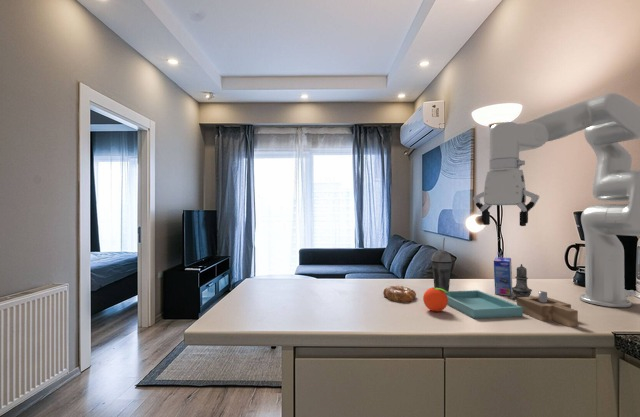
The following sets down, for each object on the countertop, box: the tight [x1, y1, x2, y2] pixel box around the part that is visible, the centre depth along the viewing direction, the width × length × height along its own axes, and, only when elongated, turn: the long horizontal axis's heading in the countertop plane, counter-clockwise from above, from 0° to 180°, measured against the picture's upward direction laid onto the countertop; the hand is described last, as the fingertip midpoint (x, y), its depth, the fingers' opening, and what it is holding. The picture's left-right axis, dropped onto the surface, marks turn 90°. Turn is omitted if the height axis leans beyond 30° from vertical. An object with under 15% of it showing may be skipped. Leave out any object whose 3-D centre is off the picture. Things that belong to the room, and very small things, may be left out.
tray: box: [445, 289, 524, 320], centre depth 101 cm, size 15×20×2 cm
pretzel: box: [382, 285, 417, 303], centre depth 112 cm, size 12×11×4 cm
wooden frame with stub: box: [516, 295, 579, 328], centre depth 91 cm, size 9×14×4 cm, turn 9°
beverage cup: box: [430, 237, 453, 292], centre depth 118 cm, size 7×7×20 cm
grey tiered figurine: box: [512, 263, 533, 302], centre depth 109 cm, size 6×6×12 cm
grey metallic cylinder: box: [538, 290, 548, 304], centre depth 93 cm, size 2×2×6 cm
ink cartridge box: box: [493, 251, 513, 297], centre depth 119 cm, size 10×6×14 cm, turn 148°
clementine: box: [422, 287, 451, 313], centre depth 97 cm, size 8×7×7 cm
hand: (504, 225), depth 95 cm, fingers open, 9 cm apart
